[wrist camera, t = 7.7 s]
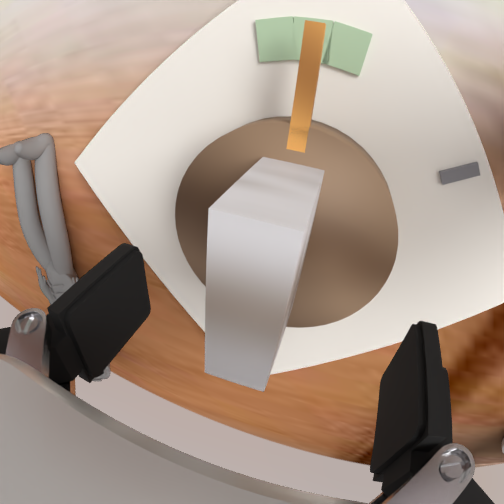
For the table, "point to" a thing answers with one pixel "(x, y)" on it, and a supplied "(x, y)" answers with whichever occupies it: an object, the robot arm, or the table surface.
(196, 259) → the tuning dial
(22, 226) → the alien figure
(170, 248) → the white square board
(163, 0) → the table surface
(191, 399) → the table surface
